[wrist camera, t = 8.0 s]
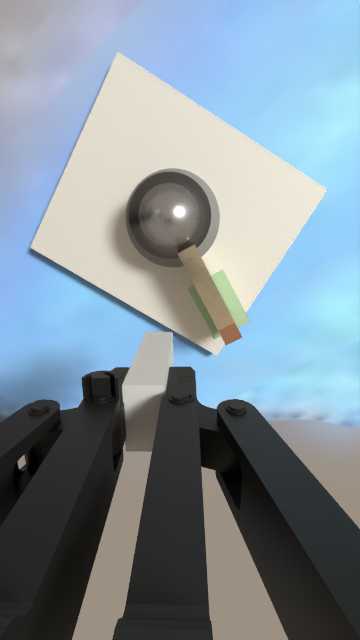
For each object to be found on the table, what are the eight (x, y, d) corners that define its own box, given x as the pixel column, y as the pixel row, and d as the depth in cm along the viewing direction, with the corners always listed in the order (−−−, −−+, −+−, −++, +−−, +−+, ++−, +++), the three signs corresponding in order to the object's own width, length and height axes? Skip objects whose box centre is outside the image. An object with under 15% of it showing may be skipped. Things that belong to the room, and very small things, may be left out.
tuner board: (35, 247, 32) (28, 247, 31) (120, 59, 28) (117, 50, 26) (222, 355, 34) (223, 360, 33) (329, 196, 30) (336, 194, 28)
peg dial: (121, 203, 29) (109, 197, 25) (187, 164, 28) (186, 150, 24) (198, 343, 32) (198, 358, 28) (260, 312, 31) (270, 323, 27)
